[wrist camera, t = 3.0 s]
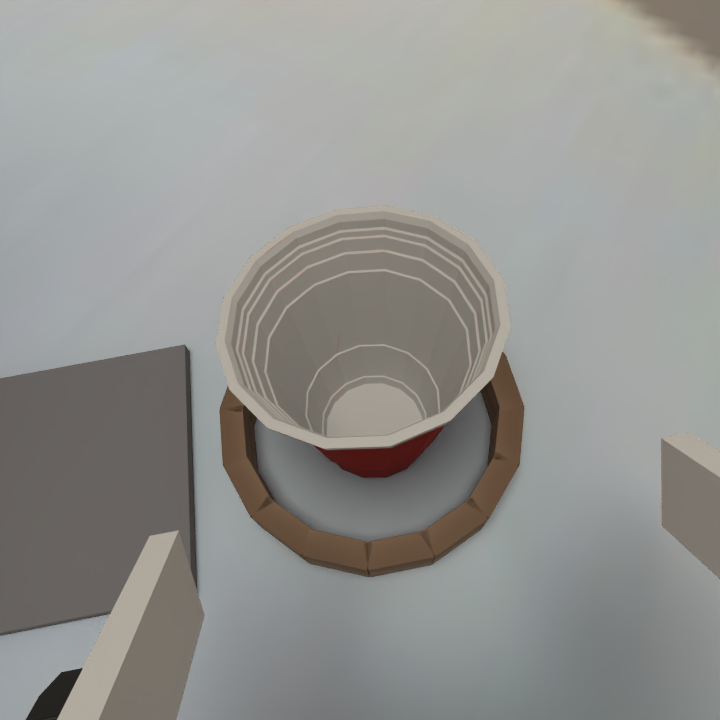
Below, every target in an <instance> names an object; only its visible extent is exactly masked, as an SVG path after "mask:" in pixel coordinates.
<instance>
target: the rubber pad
mask: <svg viewBox="0 0 720 720" xmlns="http://www.w3.org/2000/svg"><path fill="white" fill-rule="evenodd" d="M178 530H179V533H180V536H181V539H182V543H183V546H184V549H185V553H186V556H187V559H188V563H189V566H190V569H191V572H192V576H193V579H194V582H195V586H196V589H197V583H196V551H195V519H194V487H193V455H192V423H191V391H190V359H189V350H188V349H187V347H186V346H185V345H180V346H175V347H169V348H164V349H159V350H153V351H148V352H142V353H137V354H131V355H126V356H120V357H115V358H110V359H104V360H99V361H93V362H88V363H82V364H77V365H72V366H66V367H61V368H55V369H50V370H44V371H39V372H33V373H28V374H23V375H17V376H12V377H6V378H1V379H0V636H1V635H6V634H11V633H16V632H21V631H26V630H31V629H36V628H41V627H46V626H51V625H56V624H61V623H66V622H71V621H76V620H81V619H86V618H91V617H96V616H101V615H106V614H111V612H112V610H113V608H114V606H115V604H116V602H117V600H118V598H119V596H120V594H121V592H122V590H123V588H124V586H125V584H126V582H127V580H128V578H129V576H130V574H131V572H132V570H133V568H134V566H135V564H136V562H137V560H138V558H139V556H140V554H141V552H142V550H143V548H144V546H145V544H146V542H147V540H148V538H149V536H152V535H157V534H162V533H167V532H173V531H178Z"/></svg>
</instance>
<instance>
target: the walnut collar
mask: <svg viewBox="0 0 720 720" xmlns="http://www.w3.org/2000/svg"><path fill="white" fill-rule="evenodd" d="M481 392H482V396H483V399H484V402H485V405H486V408H487V411H488V414H489V417H490V421H491V424H492V430H491V439H490V448H489V457H488V466H487V469H486V471H485V473H484V474H483V476H482V478H481V479H480V481H479V483H478V484H477V486H476V488H475V489H474V491H473V493H472V494H471V496H470V498H469V499H468V500H467V501H466V502H464V503H463V504H461V505H460V506H459V507H457V508H456V509H454V510H453V511H451V512H450V513H448V514H447V515H446V516H444V517H443V518H441V519H440V520H438V521H437V522H436V523H434V524H433V525H431V526H430V527H428V528H427V529H426V530H424V531H421V532H416V533H411V534H406V535H401V536H396V537H391V538H386V539H380V540H375V541H370V542H366V541H361V540H356V539H352V538H347V537H343V536H338V535H333V534H329V533H324V532H319V531H315V530H313V529H311V528H310V527H308V526H307V525H306V524H304V523H303V522H302V521H300V520H299V519H297V518H296V517H295V516H293V515H292V514H291V513H289V512H288V511H286V510H285V509H284V508H282V507H281V506H280V505H278V504H277V503H276V502H275V500H274V498H273V497H272V495H271V493H270V491H269V490H268V488H267V486H266V484H265V482H264V481H263V479H262V477H261V475H260V474H259V472H258V468H257V457H256V446H255V435H254V424H255V421H256V418H257V417H256V416H255V415H254V414H253V413H252V412H251V411H250V410H249V409H248V408H247V407H246V406H245V405H244V404H243V403H242V402H241V401H240V400H239V399H238V398H237V397H236V396H235V395H234V394H233V393H232V392H231V391H230V390H229V387H227V390H226V393H225V396H224V398H223V401H222V404H221V407H220V424H221V441H222V458H223V466H224V468H225V470H226V472H227V474H228V475H229V477H230V479H231V481H232V483H233V485H234V487H235V489H236V490H237V492H238V494H239V496H240V498H241V500H242V502H243V504H244V505H245V507H246V509H247V511H248V513H249V515H250V517H251V518H252V519H253V520H254V521H256V522H257V523H258V524H259V525H260V526H261V527H262V528H263V529H265V530H266V531H267V532H269V533H270V534H271V535H273V536H274V537H275V538H276V539H278V540H279V541H280V542H282V543H283V544H284V545H286V546H287V547H288V548H290V549H291V550H292V551H294V552H295V553H296V554H298V555H299V556H300V557H302V558H303V559H304V560H306V561H307V562H308V563H310V564H314V565H318V566H323V567H327V568H332V569H336V570H341V571H345V572H349V573H354V574H358V575H363V576H367V577H373V576H378V575H383V574H388V573H393V572H398V571H403V570H408V569H413V568H418V567H423V566H428V565H431V564H433V563H435V562H436V561H438V560H439V559H440V558H442V557H443V556H445V555H446V554H447V553H449V552H450V551H452V550H453V549H454V548H456V547H457V546H459V545H460V544H461V543H463V542H464V541H466V540H467V539H468V538H470V537H471V536H473V535H474V534H475V533H477V532H478V531H480V530H481V529H482V527H483V526H484V524H485V523H486V522H487V520H488V519H489V517H490V516H491V514H492V512H493V510H494V509H495V507H496V505H497V503H498V502H499V500H500V498H501V496H502V495H503V493H504V491H505V489H506V488H507V486H508V484H509V482H510V481H511V479H512V477H513V475H514V474H515V472H516V470H517V468H518V467H519V464H520V453H521V441H522V429H523V416H524V405H523V402H522V399H521V397H520V394H519V391H518V388H517V385H516V383H515V380H514V377H513V374H512V371H511V369H510V366H509V363H508V360H507V357H506V356H505V354H504V353H503V352H502V354H501V357H500V360H499V363H498V366H497V368H496V371H495V374H494V377H493V378H492V379H491V380H490V381H489V382H488V383H487V384H486V385H485V386H484V387H483V389H482V390H481Z"/></svg>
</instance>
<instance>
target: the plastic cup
mask: <svg viewBox="0 0 720 720" xmlns="http://www.w3.org/2000/svg"><path fill="white" fill-rule="evenodd" d="M510 328H511V323H510V316H509V310H508V304H507V298H506V291H505V285H504V279H503V277H502V276H501V274H500V273H499V272H498V270H497V269H496V267H495V266H494V265H493V263H492V262H491V261H490V259H489V258H488V256H487V255H486V254H485V252H484V251H483V250H482V248H481V247H480V245H479V244H478V243H477V241H476V240H474V239H473V238H471V237H469V236H468V235H466V234H464V233H463V232H461V231H459V230H458V229H456V228H454V227H453V226H451V225H449V224H448V223H446V222H444V221H443V220H441V219H439V218H438V217H436V216H434V215H430V214H425V213H420V212H415V211H410V210H406V209H401V208H396V207H391V206H386V205H384V206H372V207H361V208H349V209H337V210H333V211H331V212H328V213H325V214H323V215H320V216H318V217H315V218H312V219H310V220H307V221H304V222H302V223H299V224H297V225H294V226H291V227H289V228H287V229H286V230H285V231H283V232H282V233H281V234H279V235H278V236H277V237H276V238H274V239H273V240H272V241H270V242H269V243H268V244H266V245H265V246H264V247H263V248H261V249H260V250H259V251H257V252H256V253H255V254H253V255H252V256H251V257H250V258H249V259H248V261H247V262H246V264H245V265H244V267H243V268H242V270H241V271H240V273H239V274H238V276H237V277H236V279H235V280H234V282H233V284H232V285H231V287H230V288H229V290H228V291H227V293H226V294H225V296H224V297H223V302H222V308H221V314H220V319H219V325H218V331H217V336H216V342H215V344H216V348H217V351H218V354H219V357H220V361H221V364H222V367H223V371H224V374H225V377H226V381H227V384H228V387H229V390H230V391H231V392H232V393H233V394H234V395H235V396H236V397H237V398H238V399H239V400H240V401H241V402H242V403H243V404H244V405H245V406H246V407H247V408H248V409H249V410H250V411H251V412H252V413H253V414H254V415H255V416H256V417H257V418H258V419H259V420H260V421H261V422H262V423H263V424H264V425H265V426H266V427H267V428H269V429H271V430H274V431H277V432H279V433H282V434H285V435H288V436H290V437H293V438H296V439H298V440H301V441H304V442H306V443H309V444H312V445H314V446H315V447H316V448H317V449H318V450H319V451H321V452H322V453H323V454H324V455H325V456H326V457H327V458H328V459H330V460H331V461H332V462H335V463H337V464H338V465H339V466H340V467H341V468H342V469H343V470H346V471H348V472H351V473H353V474H356V475H358V476H361V477H388V476H390V475H392V474H395V473H397V472H400V471H402V470H404V469H407V468H408V467H409V466H410V465H411V464H412V463H413V462H414V461H415V460H416V459H417V458H418V457H419V456H420V455H421V454H422V453H423V451H424V450H425V449H426V448H427V447H428V446H429V445H430V444H431V443H432V442H433V441H434V440H435V438H436V437H437V435H438V434H439V432H440V431H441V430H442V428H443V427H444V425H446V424H448V423H449V422H450V421H451V420H452V419H453V418H454V417H455V416H456V415H457V414H458V413H459V412H460V411H461V410H462V409H463V408H464V407H465V406H466V405H467V404H468V403H469V402H470V401H471V400H472V399H473V398H474V397H475V396H476V395H477V394H478V393H479V392H480V391H481V390H482V389H483V387H484V386H485V385H486V384H487V383H488V382H489V381H490V380H491V379H492V378H493V377H494V374H495V371H496V368H497V366H498V363H499V360H500V357H501V354H502V351H503V348H504V345H505V342H506V339H507V336H508V333H509V331H510Z"/></svg>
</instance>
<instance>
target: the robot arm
mask: <svg viewBox="0 0 720 720" xmlns="http://www.w3.org/2000/svg"><path fill="white" fill-rule="evenodd" d="M661 481H662V526H663V527H664V528H665V529H666V530H667V531H668V532H669V533H670V534H671V535H672V536H674V537H675V538H676V539H677V540H678V541H679V542H680V543H681V544H682V545H683V546H684V547H685V548H687V549H688V550H689V551H690V552H691V553H692V554H693V555H694V556H695V557H696V558H697V559H699V560H700V561H701V562H702V563H703V564H704V565H705V566H706V567H707V568H708V569H709V570H711V571H712V572H713V573H714V574H715V575H716V576H717V577H718V578H719V579H720V452H719V451H718V450H716V449H714V448H713V447H711V446H709V445H708V444H706V443H704V442H703V441H701V440H699V439H698V438H696V437H694V436H693V435H691V434H689V433H686V434H680V435H675V436H670V437H665V438H661ZM203 619H204V612H203V609H202V605H201V602H200V599H199V596H198V592H197V589H196V586H195V582H194V579H193V576H192V572H191V569H190V566H189V563H188V559H187V556H186V553H185V549H184V546H183V543H182V539H181V536H180V533H179V530H178V531H173V532H167V533H162V534H157V535H152V536H149V538H148V540H147V542H146V544H145V546H144V548H143V550H142V552H141V554H140V556H139V558H138V560H137V562H136V564H135V566H134V568H133V570H132V572H131V574H130V576H129V578H128V580H127V582H126V584H125V586H124V588H123V590H122V592H121V594H120V596H119V598H118V600H117V602H116V604H115V606H114V608H113V610H112V612H111V614H110V616H109V618H108V620H107V622H106V624H105V626H104V628H103V630H102V631H101V633H100V635H99V637H98V639H97V641H96V643H95V645H94V647H93V649H92V651H91V653H90V655H89V657H88V659H87V661H86V663H85V665H84V667H83V668H81V669H76V670H71V671H66V672H61V673H60V674H59V676H58V677H57V678H56V679H55V680H54V681H53V682H52V683H51V684H50V685H49V686H48V687H47V688H46V689H45V690H44V691H43V693H42V694H41V695H40V696H39V697H38V699H37V701H36V703H35V704H34V706H33V708H32V710H31V711H30V713H29V715H28V717H27V718H26V720H176V719H177V715H178V711H179V707H180V704H181V700H182V696H183V693H184V689H185V685H186V682H187V678H188V674H189V671H190V667H191V663H192V660H193V656H194V652H195V649H196V645H197V641H198V638H199V634H200V630H201V627H202V623H203Z"/></svg>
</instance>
